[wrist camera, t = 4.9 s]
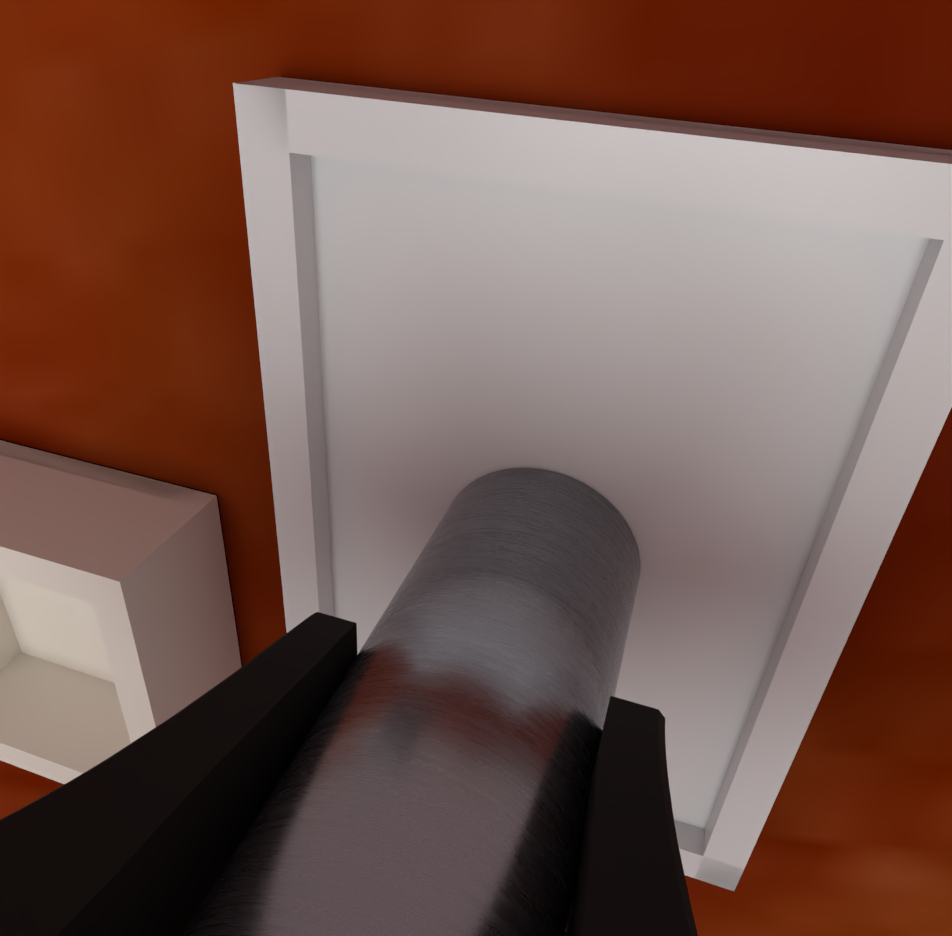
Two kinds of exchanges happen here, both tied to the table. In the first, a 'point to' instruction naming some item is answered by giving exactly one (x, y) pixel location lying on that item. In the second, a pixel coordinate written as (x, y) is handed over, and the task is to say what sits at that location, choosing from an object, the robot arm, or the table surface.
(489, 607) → the steel pin
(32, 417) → the table surface
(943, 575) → the table surface
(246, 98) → the tray
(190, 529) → the square socket block
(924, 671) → the table surface
